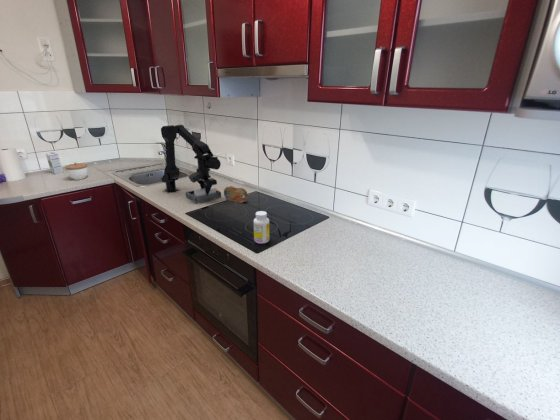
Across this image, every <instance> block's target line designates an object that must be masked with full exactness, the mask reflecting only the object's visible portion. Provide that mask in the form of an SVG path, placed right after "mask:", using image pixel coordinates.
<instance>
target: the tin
mask: <svg viewBox="0 0 560 420" xmlns="http://www.w3.org/2000/svg"><path fill="white" fill-rule="evenodd" d="M223 196H224V198H225V199H226V200H228V201H230V202H234V203H239V204H242V203H244V202H247V200H248V196H249V195H248V192H247V191H246V189H245V188H243V187H239V186H238V187H237V186H232V185H229V186H226V187H225V188H224V189H223Z"/></svg>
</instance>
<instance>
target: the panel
mask: <svg viewBox="0 0 560 420" xmlns="http://www.w3.org/2000/svg"><path fill="white" fill-rule="evenodd" d="M216 189H217V187H215V186H212V187H211V189H210V192H209V194H213V193H216ZM209 194H206V190H205V188H203V189H201V188H199V190H198V189H194V196H195V197H200V196H204V195H209Z"/></svg>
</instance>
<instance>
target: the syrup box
mask: <svg viewBox="0 0 560 420" xmlns="http://www.w3.org/2000/svg"><path fill="white" fill-rule="evenodd" d="M45 155H46V160H47V162H48V166H49V169H50V173H51V174H54V175H58V174H63V173H64V170H63V166H62V163H61V159H60V157H59V153H57V152H54V151H53V152H47V153H45Z"/></svg>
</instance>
